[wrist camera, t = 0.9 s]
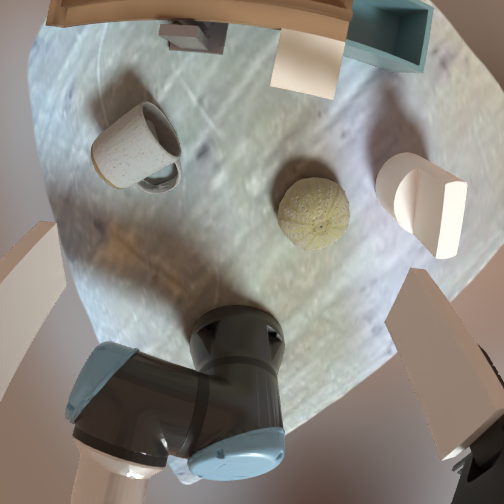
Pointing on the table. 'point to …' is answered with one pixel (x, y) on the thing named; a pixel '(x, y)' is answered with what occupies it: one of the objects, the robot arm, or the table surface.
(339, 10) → the wooden ramp track
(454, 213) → the cylinder with rectangular tab
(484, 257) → the table surface
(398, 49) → the open box
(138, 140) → the ceramic mug
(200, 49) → the support blocks
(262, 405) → the robot arm
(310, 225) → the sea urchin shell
